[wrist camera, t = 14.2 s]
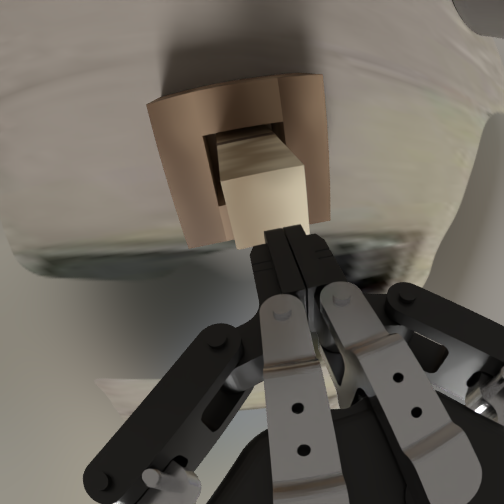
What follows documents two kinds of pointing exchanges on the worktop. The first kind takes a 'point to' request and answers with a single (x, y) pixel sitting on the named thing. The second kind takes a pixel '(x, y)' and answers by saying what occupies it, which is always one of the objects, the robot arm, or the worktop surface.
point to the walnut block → (229, 118)
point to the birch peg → (260, 184)
